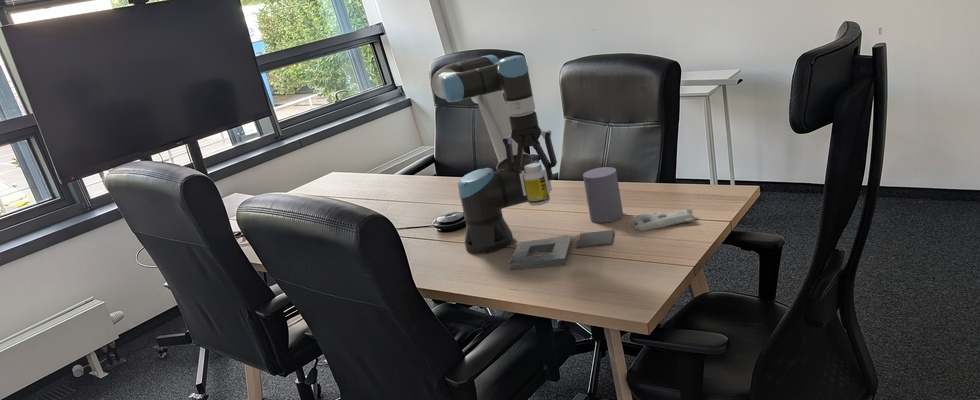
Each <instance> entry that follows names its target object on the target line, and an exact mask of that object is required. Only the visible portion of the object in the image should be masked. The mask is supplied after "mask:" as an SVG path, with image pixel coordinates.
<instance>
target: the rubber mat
mask: <svg viewBox="0 0 980 400" xmlns="http://www.w3.org/2000/svg"><path fill="white" fill-rule="evenodd" d="M614 233H615V230H614V229H610V230H609V229H608V230H600V231H591V232H582V233H580V234H579V237H578V241H577V245H576V249H584V248H594V247H603V246H613V239H614V235H615V234H614Z"/></svg>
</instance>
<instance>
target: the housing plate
mask: <svg viewBox="0 0 980 400" xmlns="http://www.w3.org/2000/svg"><path fill="white" fill-rule="evenodd" d="M572 245H573V237H572V235H570V236H560V237H553V238H543V239H542V238H541V239H535V240H525V241H518V244H517V246H516V247H515V249H514V252H513V254H512V257H511V259H510V261H509V263H508V266H509V271H517V270H526V269H536V268H538V269H539V268H546V267H547V268H548V267H556V266H557V267H558V266H566V265H567V263H568V259H569V255H570V253H571V249H572ZM546 251H552V252H551V253H546V254H536V255H532V253H537V252H546Z"/></svg>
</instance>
